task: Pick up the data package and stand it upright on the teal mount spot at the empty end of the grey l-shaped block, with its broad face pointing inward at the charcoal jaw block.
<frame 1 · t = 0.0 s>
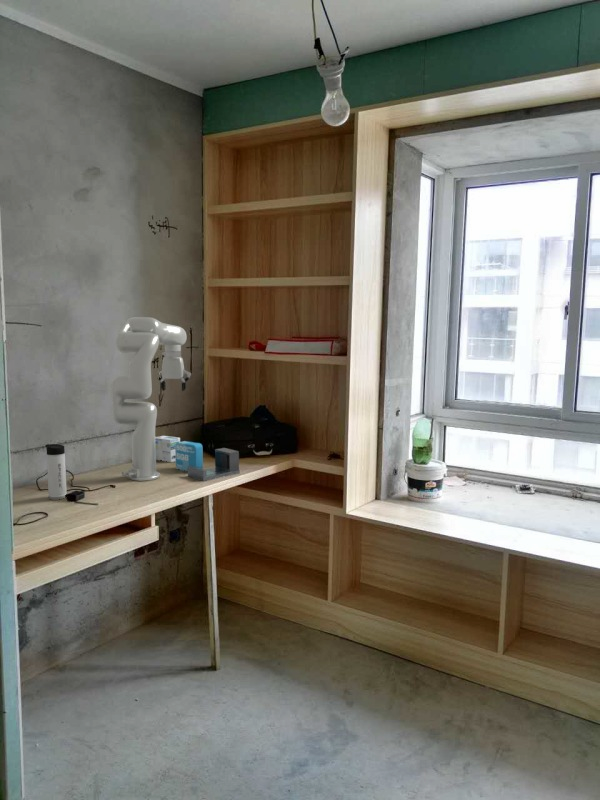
hand: (173, 390, 304), 31 cm above the table, tool pointing down, fingers open, 9 cm apart
light bulb box: (167, 460, 296), on the table
data package: (189, 470, 277), on the table
travel mug: (57, 498, 233), on the table
grey l-shaped block: (214, 474, 268), on the table
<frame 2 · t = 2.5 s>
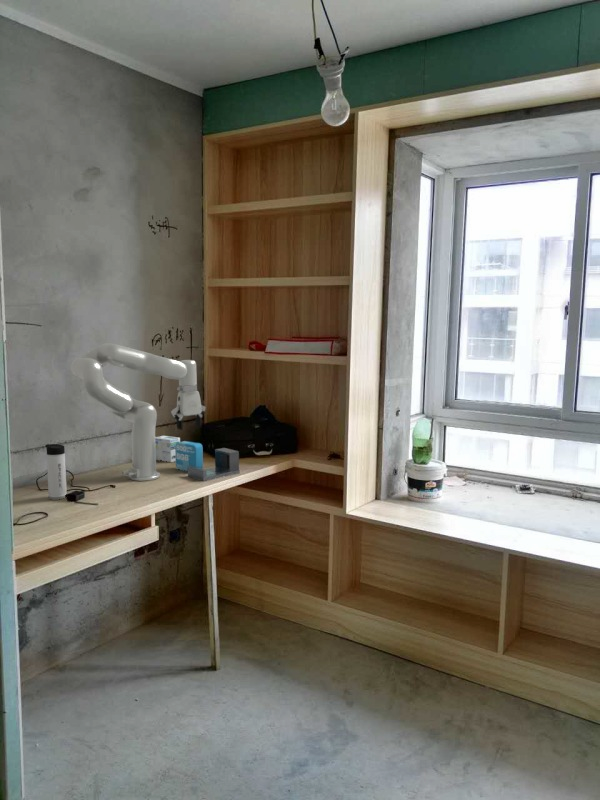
hand: (189, 427, 274), 19 cm above the table, tool pointing down, fingers open, 9 cm apart
nothing on the table moved.
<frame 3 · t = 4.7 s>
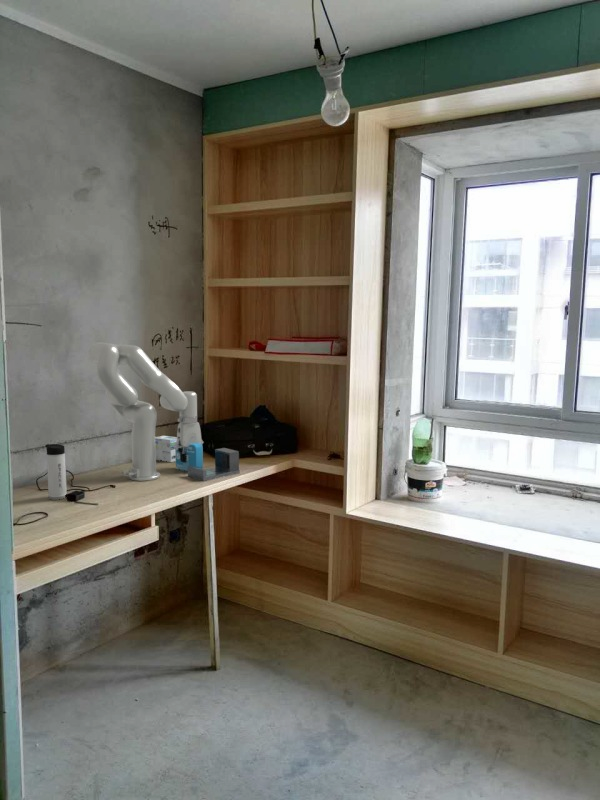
hand: (189, 460, 276), 4 cm above the table, tool pointing down, fingers closed on data package, 5 cm apart
data package: (189, 470, 277), on the table, touching gripper
everything else where it was.
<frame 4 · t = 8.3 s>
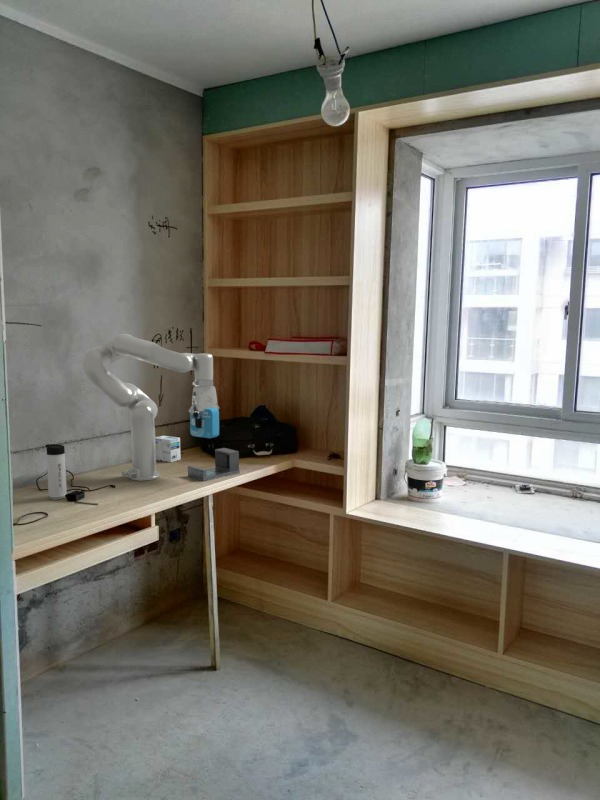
hand: (204, 426, 262), 21 cm above the table, tool pointing down, fingers closed on data package, 5 cm apart
data package: (204, 436, 263), point 17 cm above the table, touching gripper
everything else where it was.
when the fingers open (7 cm above the table, at t = 11.8 s): data package drops 1 cm, resting on grey l-shaped block.
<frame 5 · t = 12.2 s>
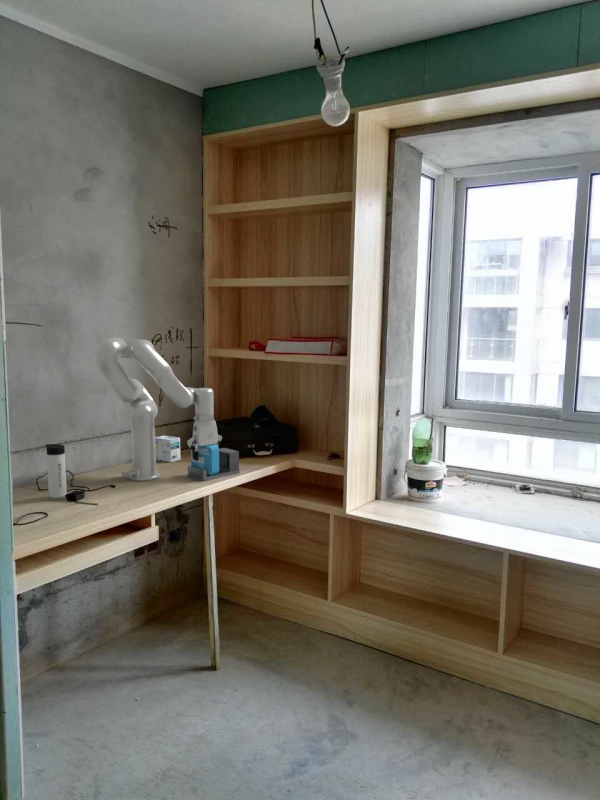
hand: (205, 458, 264), 8 cm above the table, tool pointing down, fingers open, 9 cm apart
data package: (205, 473, 265), point 1 cm above the table, touching grey l-shaped block
everything else where it was.
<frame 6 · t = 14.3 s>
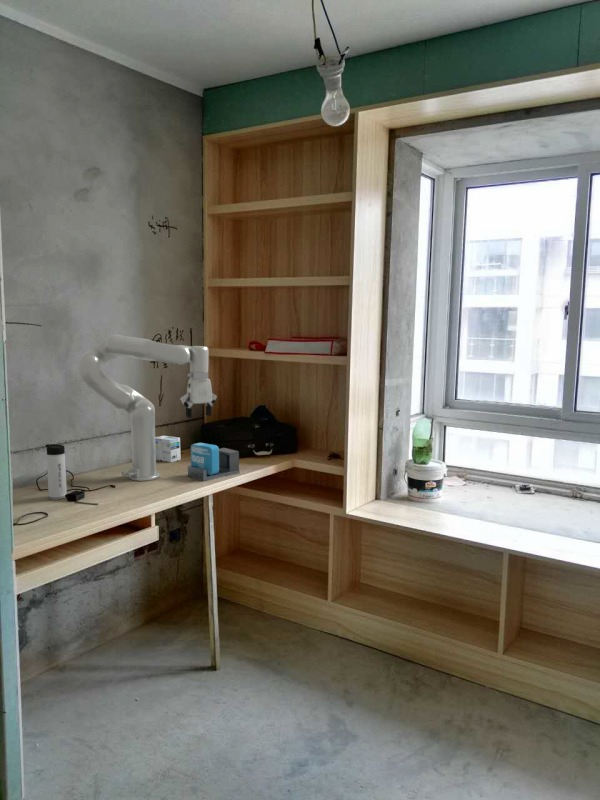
hand: (198, 416, 265), 25 cm above the table, tool pointing down, fingers open, 9 cm apart
nothing on the table moved.
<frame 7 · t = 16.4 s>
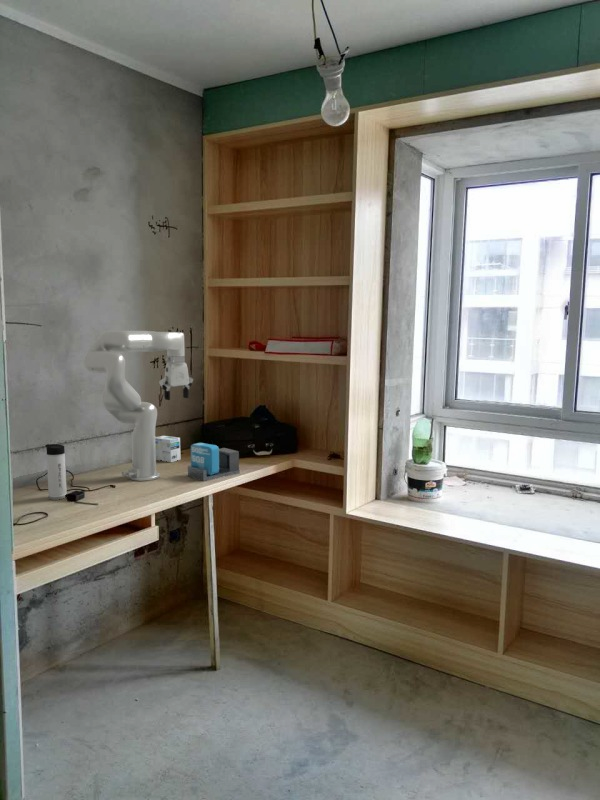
hand: (176, 398, 280), 30 cm above the table, tool pointing down, fingers open, 9 cm apart
nothing on the table moved.
at the end: data package 0.1 cm from the target spot on the grey l-shaped block, point 1.4 cm above the grey l-shaped block's base; data package tilted 0°; the gripper is holding nothing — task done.
